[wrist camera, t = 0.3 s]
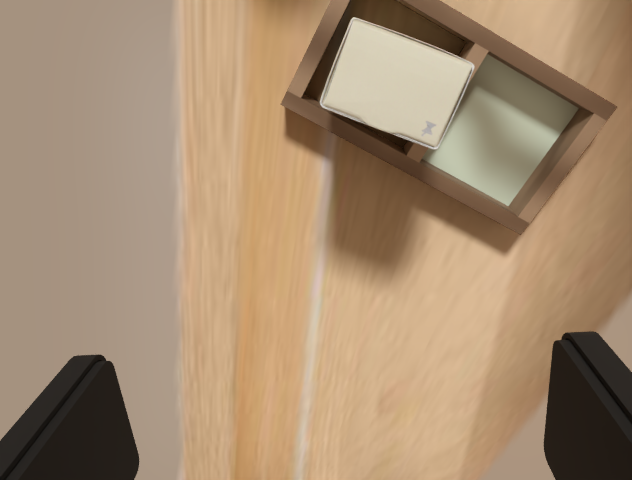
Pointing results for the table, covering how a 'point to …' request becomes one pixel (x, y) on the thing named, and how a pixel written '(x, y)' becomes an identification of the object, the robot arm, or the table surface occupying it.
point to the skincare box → (396, 83)
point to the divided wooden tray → (479, 121)
